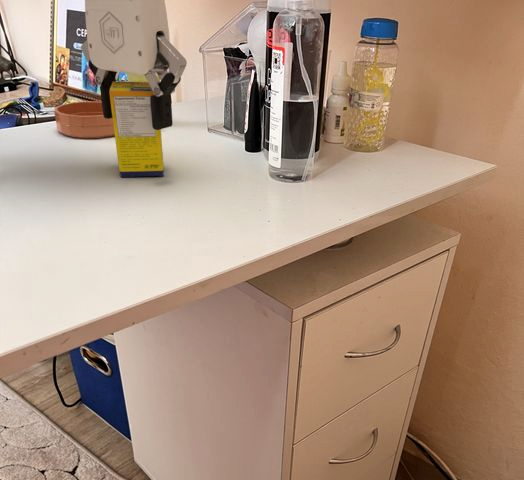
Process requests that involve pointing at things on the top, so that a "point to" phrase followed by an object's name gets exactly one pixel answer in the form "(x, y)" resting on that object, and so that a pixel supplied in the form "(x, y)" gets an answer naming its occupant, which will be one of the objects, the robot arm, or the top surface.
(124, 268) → the top surface
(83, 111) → the shallow terracotta bowl
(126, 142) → the supplement box
